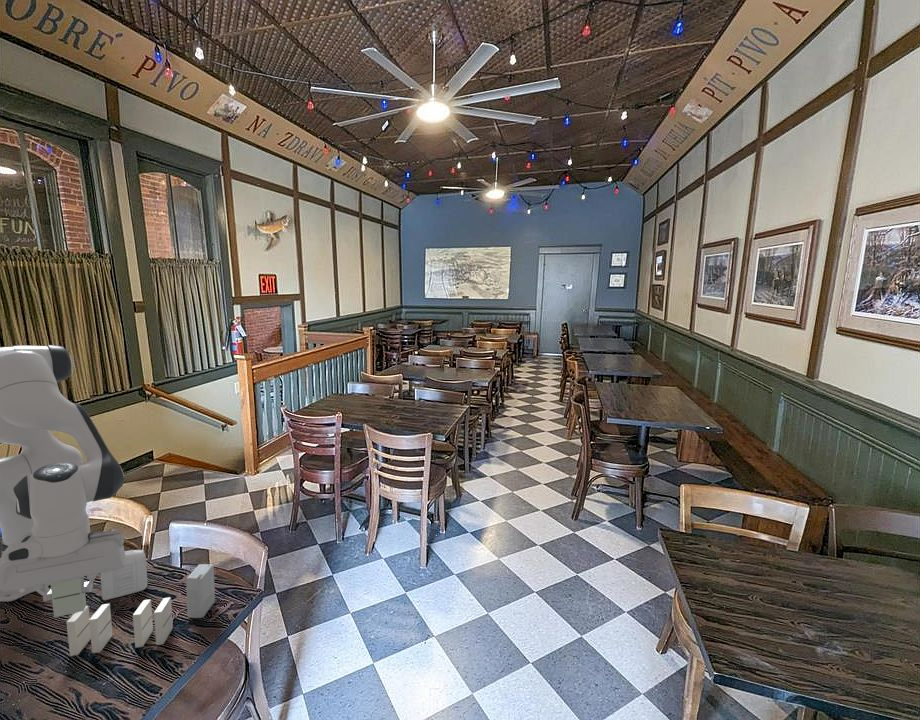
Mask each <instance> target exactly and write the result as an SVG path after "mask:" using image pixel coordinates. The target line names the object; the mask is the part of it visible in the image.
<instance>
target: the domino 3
mask: <svg viewBox="0 0 920 720" xmlns="http://www.w3.org/2000/svg"><path fill="white" fill-rule="evenodd" d="M152 610H153V609H152V599H144V600H142V602H141V603H140V604H139V605H138V607H137V609H136V610H135V611H134V613H133V614H132V624H133V634H134V637H133V638H134V645H135V646H134V648H136V649H137V648H143V647H144V646H145V644H146V642H147V641H148V639H149V638H150V636H151V635H152V633H153V631H154V624H153V611H152Z"/></svg>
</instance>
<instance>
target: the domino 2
mask: <svg viewBox="0 0 920 720" xmlns="http://www.w3.org/2000/svg"><path fill="white" fill-rule="evenodd" d="M111 614H112V612H111V603H103V604H101V605H100V607H98V609H97V610H96V611H95V612H94V613H93V614H92V615H91V616H90V619H89V623H90V634H91V639H90V641H91V642H90V643H91V644H90V645H91V652H92V653H91V654H96V653H97V654H98V653H101V651H103V650H104V647H105V646H106V645H107V643H109V641H110V639H111V638H112V637H113V625H112V615H111Z"/></svg>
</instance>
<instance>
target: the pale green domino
mask: <svg viewBox="0 0 920 720" xmlns="http://www.w3.org/2000/svg"><path fill="white" fill-rule="evenodd" d="M84 577H85V576H83V577H78V578H73V579H68V580H63V581H58V582H53V583H50V585H49V586H50V589H51V593H52V600H51V601H52V602H51V603H52V610H53V618H59V617H63V616H67V615H73V614H75V613H77V612H81V611H84V609H85V608H86V606H87V599H86V593H82V588H81V587H82V585H83V584H84V582H85V580H84Z"/></svg>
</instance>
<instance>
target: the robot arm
mask: <svg viewBox="0 0 920 720" xmlns="http://www.w3.org/2000/svg"><path fill="white" fill-rule="evenodd" d="M73 370H74V361H73V358H72V356H71V355H70V353H69V351H68V350H67V349H66V348H65V347H63V346H61V345H59V346H58V345H52V344H46V345H12V346H0V444H6V445H12V446H20V447H21V450H22V452H20V453H18V454H14V455H9V456H6V457H5V456H4V457H1V458H0V532H1V538H2V539H0V602H12V601H15V600H18V599H20V598H22V597H23V596H26V595H28V594H31V593H34V592H37V593H38V594H39V595H41V596H42V601H43V602H49V601H52V593H51V587H49V586H51V585H50V583H53V582H58V581H63V580H68V579H73V578H78V577H86V579H87V580H89V581H84V584H83V585H82V587H81V588H82V593H85V594H87V593H91V592H92V591H93V588H94V583H93V582H94V581H95V579H96V577H97V575H98V574H100V573H103V572H108V571H113V570H117V569H119V568H120V567H121V566H122V564H123V563H124V561H125V551H126V550H125V547H124V543H125V536H124V533H123V532H122V531H119V530H116V529H109V530H105V531H96V532H91V527H90V524H91V523H90V516H89V514H88V513H87V505H88V503H91V502H98V501H102V500H107V499H111V498H112V497H114V495H116V494H117V492H119V490H121V488H122V487H123V485H124V483H125V475H124V471H123V468H122V467H121V465H120V463H119V462H118V460H117V459H116V458H115V457H114V455H113V454H112V453H111V451H110V450H109V448H108V446H107V444H106V443H105V441H104V439H103V438H102V435H101V433H100V432H99V431H98V428H97V426H96V425H95V423H94V422H93V420H92V418H91V417H90V415H89V414H88V412H87V411H86V410H85V408H84V407H83V406H82V405H81V404H79V403H75V402H72V401H70V400H69V399H68V398H66V397H65V396H64V395H63V394H62V393H61V391H60V389H59V388H60V387H59V384H58V383H60V382H63V381H65V380H67V379H68V378H69V377H71V375H72V371H73ZM51 431H56V432H61V433H64V434H68V435H70V436H72V437H73V438H74V439H75V442H76V443H77V444H78V446H79V448H80V450H81V451H82V453H83V454H82V453H81V451H80V450H79V449H78V448H76V447H74V446H72V445H69V444H66V443H65V442H62V441H60V440H59V439H57V438H56V437H55V436H54V435H53V433H52V432H51ZM83 455H84V457H85V459H86V461H84V457H83Z"/></svg>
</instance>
